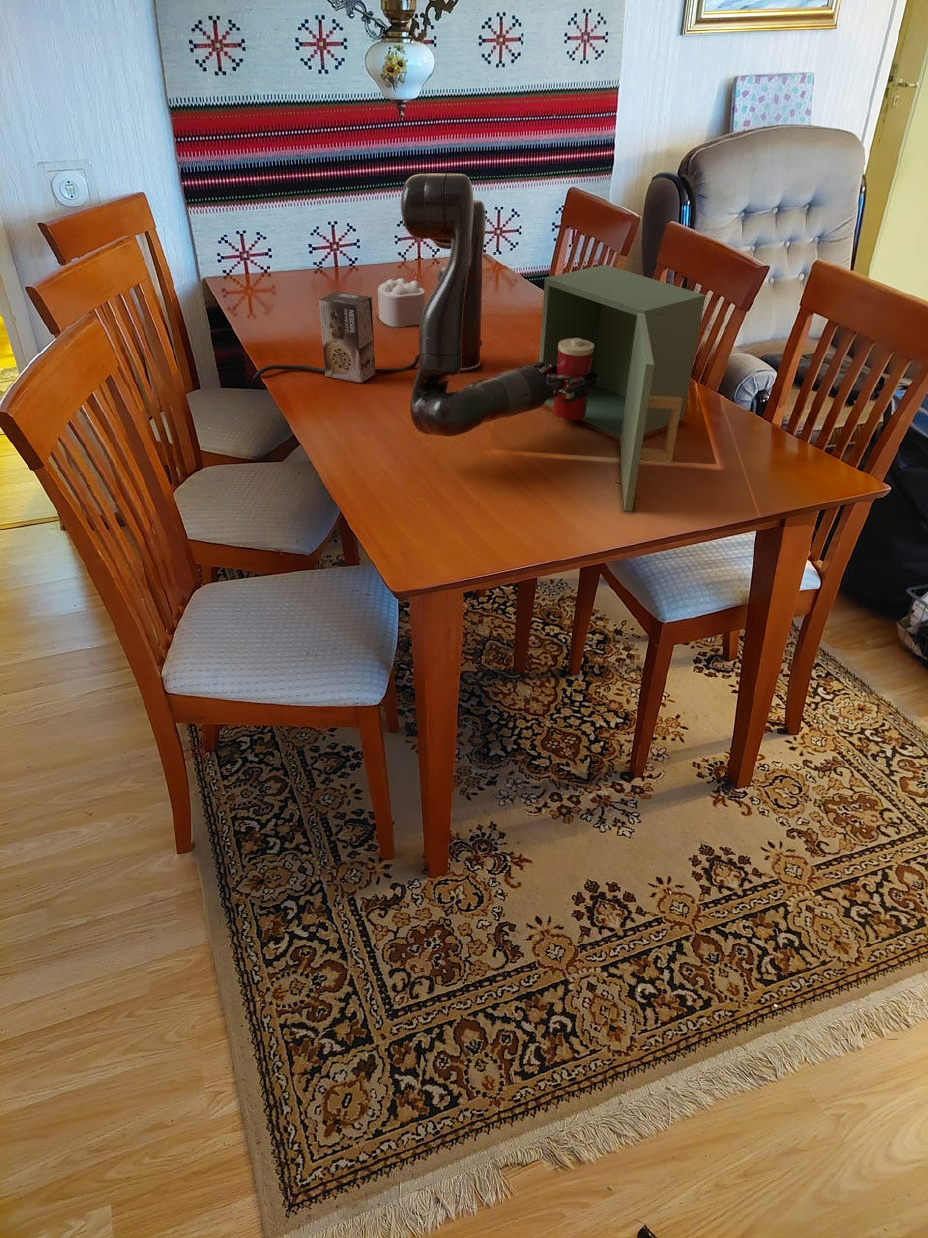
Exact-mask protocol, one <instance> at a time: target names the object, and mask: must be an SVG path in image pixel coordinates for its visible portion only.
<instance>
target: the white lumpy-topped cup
mask: <svg viewBox="0 0 928 1238" xmlns="http://www.w3.org/2000/svg"><path fill="white" fill-rule="evenodd" d="M377 302H378V319H379V320H380V321H381V322H382V323H383V324H385V325H387V326H389V327H392V328H403V327H409V326H419V324H420V319H421V315H422V312H423V310H424V307H425V305H426V291H425V289H423V287H421V284H420V283H419V282H418V281H417V280H411V281H410V282H408V281H406V279H405V278H402V277H399V278H397V279H395V280H394V279H392V278H390V279H387V281H385V282H383V283H381V284H379V286H378V288H377Z"/></svg>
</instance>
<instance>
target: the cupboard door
mask: <svg viewBox="0 0 928 1238" xmlns="http://www.w3.org/2000/svg"><path fill="white" fill-rule="evenodd" d="M653 370H654V361H653V356H652V350H651V345H650V339H649V334H648V329H647V323H646V318H645V313H637V320H636V327H635V335H634V342H633V350H632V357H631V364H630V372H629V379H628V386H627V394H626V401H625V408H624V416H623V423H622V431H621V437H619V438H620V439H619V446H620V447H619V448H620V458H619V459H620V460H619V461H620V471H621V483H622V484H621V486H622V497H623V499H622V500H623V509H624V510H623V511H624V512H633V508H634V499H635V494H636V488H637V482H638V481H637V480H638V475H639V467H640V461H641V460H642V461H657V462H672V460H673V455H674V450H675V446H676V445H675V444H676V438H677V432H678V426H679V422H680V421H679V416H680V410H681V405H682V398H680V397H668V396H652V395H650V389H651V383H652V376H653ZM648 407H650V408H666V409H671V413H670V419H669V425H667V431H666V437H665V444H664V448H651V447H650V448H649V447H643V441H644V435H645V434H644V429H645V422H646V416H647V409H648Z"/></svg>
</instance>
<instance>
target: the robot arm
mask: <svg viewBox="0 0 928 1238" xmlns="http://www.w3.org/2000/svg"><path fill="white" fill-rule="evenodd" d="M400 213H401V219H402V221H403V224H404V227H405V229H406V232H408V233H409V235H410V236H411V237H413V238H416V239H420V240H430V241H431V242H433V244H434V245H435V246H436V247H438V248H439V249H443V250H450V253H449V258H448V261H447V264H445V265H443V266H442V267H440V268H439V270H438V272H437V273H438V274H437V285H436V287H435V288H434V289H433V291H432V293H431V295H430V296H429V298H428V300H427V302H425V307H424V310H423V312H422V315H421V319H420V324H419V325H418V354H417V355H416V356H415V358H414V360H413V362H412V363H410V364H409V365H406V366H405V367H400V368H375V374H394V373H398V372H402V371H408V370H412V369H413V368H415V367H417V365H418V368H417V372H416V375H415V378H414V383H413V388H412V392H411V396H410V397H411V398H410V410H409V411H410V417H411V421H412V423H413V426H414V427H415V428H416V429H417V431H419V432H420V433H422V434H423V435H429V436H439V437H446V438H447V437H456V436H461V435H464V434H466V433H469V432H471V431H473V430H474V429H476V428H477V427H479V426H481V425H483V424H486V423H489V422H493V421H496V420H499V419H504V418H510V417H515V416H518V415H521V414H524V413H527V412H531V411H533V410H537V409H540V408H541V407H542V406H543V405H544V404H545V403H546V400H547V399H548V398H553V397H558V396H562V397H564V402H565V403H570V402H572V401H575V400H577V399H580V398H582V397H585V396H587V395H588V387H591V386H595V385H596V383H597V376H598V375H597V374H596V373H590V374H587V375H584V376H581V377H571V376H570V375H556V372H557V365H553V364H548V365H547V366H546V365H545V363H544V362H539V361H538V362H534V363H533V362H532V363H529V364H524V365H519V366H517V368H515V369H511V370H509V371H504V372H501V373H498V374H495V375H493V376H492V377H491V376H490V377H488V378H484V379H480V380H477V381H474V382H471V383H469V384H467V385H466V386H464V387H463V389H461V390H456V391H449V392H447V390H448V386H449V382H450V379H451V378H452V377H455V376H457V375H459V374H460V373H461V372H470V371H474V370H476V369H478V368H479V367H480V366H481V348H482V347H483V342H482V339H481V336H482V308H483V307H482V305H483V269H484V268H483V263H484V245H485V236H486V235H485V234H486V220H487V217H486V216H487V215H486V214H487V213H486V207H485V205H484V203H483V202H482V200H478V199H474V191H473V184H472V182H471V180H470V178H469V176H467V175H466V174H464V173H417V174H414V175H411V176H410V177H409V178H408V179H407V180H406V182H405V183H404V186H403V188H402V192H401V197H400ZM272 370H283V371H284V370H286V371H288V370H289V371H291V370H300V371H310V372H314V373H320V374H325V368H320V367H315V366H310V365H300V364H289V365H288V364H271V365H267V366H264V367H262V368H261V369H259V370H258V371H257V372H255V374H254V376H253V377H252V379H258V378H260V376H262V375H263V374H264V373H265V372H268V371H272ZM563 380H566V388H565V389H563V384H564V381H563ZM573 382H577V383H576V384H573V385H572V383H573Z"/></svg>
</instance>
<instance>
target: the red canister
mask: <svg viewBox="0 0 928 1238" xmlns="http://www.w3.org/2000/svg"><path fill="white" fill-rule="evenodd" d="M558 349H559V350H558V361H557V372H556V375H570V376H571V377H581V376H584V375H587V374H590V373H591V365H592V357H593V351H594V344H593V343H592V342H590V341H587V340H583V339H579V338H573V339H564V340H561V341H560V342H559V344H558ZM563 381H564V384H563V389H565V388H566V380H563ZM576 383H577V382H573V383H572V385H573V384H576ZM588 391H589V387H588ZM587 400H588V395H587V396H585V397H582V398H580V399H577V400H575V401H572V402H570V403H565V402H564V397H562V396H558V397H554V404H553V406H552V413H553V415H554V416H555V417H558V418H561V419H564V420H579V419H580V418H583V417H584V416H585V415H586V408H587ZM580 420H581V419H580Z"/></svg>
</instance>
